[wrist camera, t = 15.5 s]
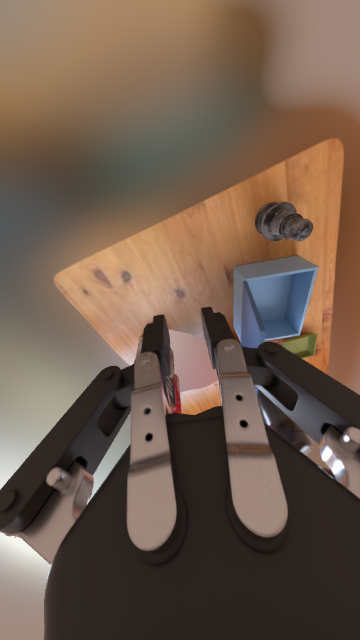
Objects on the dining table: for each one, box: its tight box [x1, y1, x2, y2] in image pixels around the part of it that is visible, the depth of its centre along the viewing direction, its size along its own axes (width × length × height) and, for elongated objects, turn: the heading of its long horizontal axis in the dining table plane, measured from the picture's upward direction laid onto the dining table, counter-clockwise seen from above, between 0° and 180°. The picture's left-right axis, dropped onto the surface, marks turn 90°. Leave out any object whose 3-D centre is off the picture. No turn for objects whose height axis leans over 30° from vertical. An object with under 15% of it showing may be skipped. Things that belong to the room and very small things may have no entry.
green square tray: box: [283, 333, 317, 359], centre depth 53 cm, size 9×9×2 cm
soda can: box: [171, 374, 181, 414], centre depth 54 cm, size 7×7×13 cm
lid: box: [241, 280, 266, 396], centre depth 33 cm, size 14×16×1 cm
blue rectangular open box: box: [233, 255, 318, 342], centre depth 42 cm, size 13×16×7 cm
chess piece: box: [255, 202, 313, 241], centre depth 30 cm, size 6×6×12 cm
